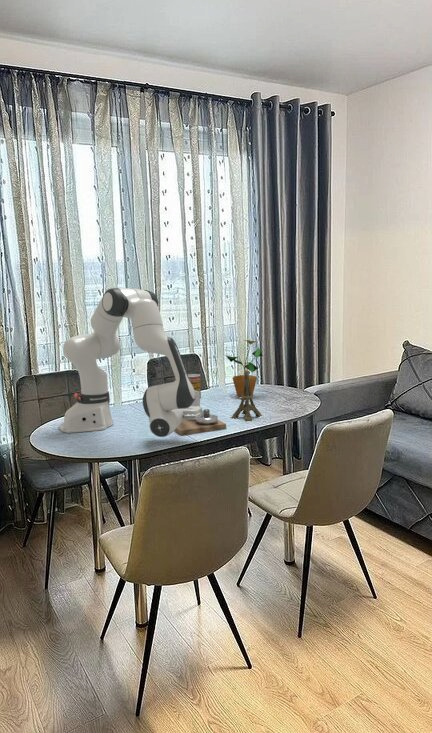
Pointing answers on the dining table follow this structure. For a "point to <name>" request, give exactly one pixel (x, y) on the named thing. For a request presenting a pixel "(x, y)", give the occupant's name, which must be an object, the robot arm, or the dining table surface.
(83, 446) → the dining table surface
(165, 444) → the dining table surface
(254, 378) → the potted plant
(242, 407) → the eiffel tower
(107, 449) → the dining table surface
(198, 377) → the canned food
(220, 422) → the stand
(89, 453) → the dining table surface
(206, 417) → the crank handle
